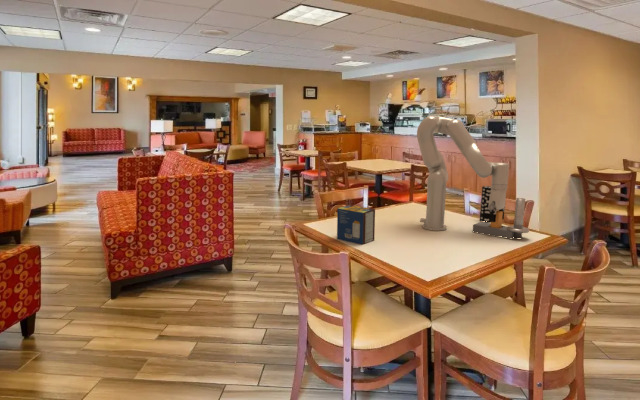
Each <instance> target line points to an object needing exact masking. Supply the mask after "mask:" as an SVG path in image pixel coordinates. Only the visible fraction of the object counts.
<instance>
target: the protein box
mask: <svg viewBox="0 0 640 400" xmlns="http://www.w3.org/2000/svg"><path fill="white" fill-rule="evenodd" d="M336 213H337V218H336V219H337V220H336V224H337V225H336V227H337V228H336V239H337V240H339V241H344V242H348V243H354V244H357V245H365V244H368V243H370V242H373V241H375V229H376V228H375V227H376V225H375V224H376V223H375V222H376V209H375V208H369V207H364V206H357V205H352V204H351V205H350V204H348V205H346V206H345V205H344V206H341V207H337V212H336Z"/></svg>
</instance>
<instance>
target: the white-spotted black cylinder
mask: <svg viewBox="0 0 640 400" xmlns="http://www.w3.org/2000/svg"><path fill="white" fill-rule="evenodd" d="M490 193H491V186H490V185H484V186H481V198H480V210H479V211H480V212H479V221H480V222H481V221H485V223H486V221H487V222H490V221H489V208H488V206H489V198H490Z"/></svg>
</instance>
